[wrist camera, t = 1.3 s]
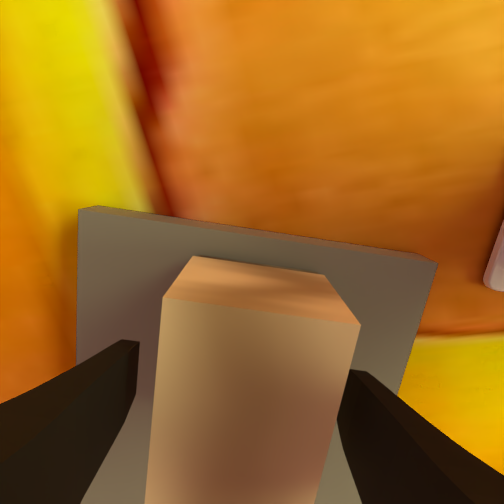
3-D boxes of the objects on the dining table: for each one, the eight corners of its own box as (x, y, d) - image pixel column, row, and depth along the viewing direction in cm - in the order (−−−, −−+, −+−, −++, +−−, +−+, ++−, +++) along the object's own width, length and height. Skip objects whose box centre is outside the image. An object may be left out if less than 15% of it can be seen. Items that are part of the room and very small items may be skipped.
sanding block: (321, 270, 12) (361, 325, 8) (289, 417, 14) (307, 530, 9) (195, 252, 12) (162, 297, 7) (178, 403, 14) (143, 512, 9)
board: (417, 254, 13) (438, 263, 12) (323, 573, 18) (330, 608, 17) (97, 205, 13) (78, 209, 11) (87, 549, 18) (72, 582, 16)
